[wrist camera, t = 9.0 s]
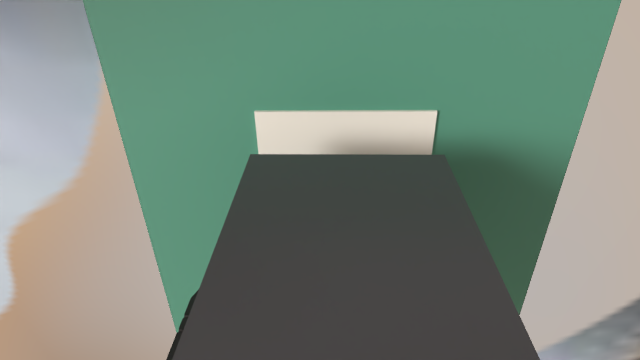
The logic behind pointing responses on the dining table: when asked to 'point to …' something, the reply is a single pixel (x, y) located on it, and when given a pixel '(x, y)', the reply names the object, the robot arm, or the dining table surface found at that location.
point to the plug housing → (352, 267)
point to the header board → (348, 105)
